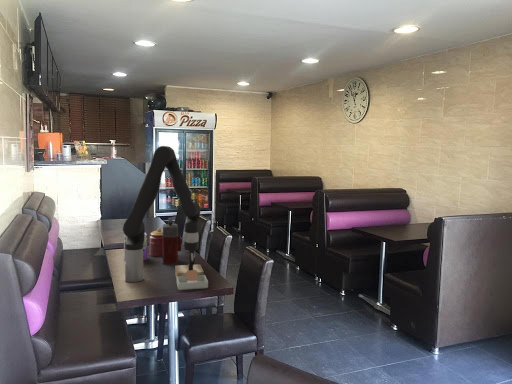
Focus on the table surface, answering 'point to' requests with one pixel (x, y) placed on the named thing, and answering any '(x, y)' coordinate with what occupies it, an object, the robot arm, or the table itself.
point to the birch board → (182, 269)
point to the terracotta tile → (191, 274)
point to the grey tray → (192, 283)
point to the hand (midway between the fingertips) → (190, 271)
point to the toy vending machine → (171, 243)
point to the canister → (156, 243)
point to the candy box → (143, 246)
